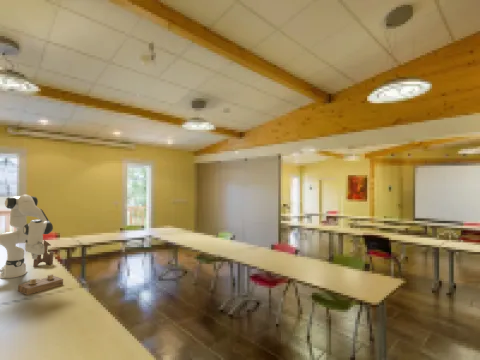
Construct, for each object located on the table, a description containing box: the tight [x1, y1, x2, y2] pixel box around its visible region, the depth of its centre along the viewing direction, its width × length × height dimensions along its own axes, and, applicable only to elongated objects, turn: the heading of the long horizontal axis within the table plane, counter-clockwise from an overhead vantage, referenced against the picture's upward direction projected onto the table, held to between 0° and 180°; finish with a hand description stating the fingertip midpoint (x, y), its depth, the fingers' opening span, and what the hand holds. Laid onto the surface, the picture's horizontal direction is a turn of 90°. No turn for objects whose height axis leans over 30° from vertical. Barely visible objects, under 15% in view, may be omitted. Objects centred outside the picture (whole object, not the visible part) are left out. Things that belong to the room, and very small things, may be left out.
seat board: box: [17, 275, 64, 296], centre depth 197 cm, size 14×24×4 cm, turn 154°
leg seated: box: [47, 274, 54, 281], centre depth 202 cm, size 4×4×8 cm
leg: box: [29, 278, 37, 286], centre depth 191 cm, size 4×4×8 cm
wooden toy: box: [33, 239, 54, 268], centre depth 252 cm, size 16×7×25 cm, turn 129°
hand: (34, 258), depth 192 cm, fingers closed
